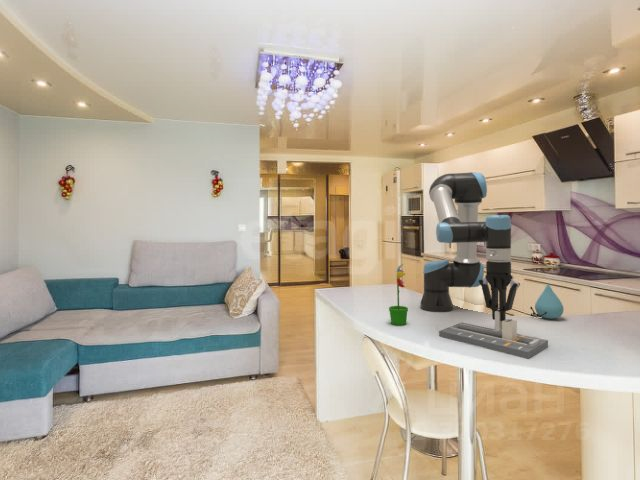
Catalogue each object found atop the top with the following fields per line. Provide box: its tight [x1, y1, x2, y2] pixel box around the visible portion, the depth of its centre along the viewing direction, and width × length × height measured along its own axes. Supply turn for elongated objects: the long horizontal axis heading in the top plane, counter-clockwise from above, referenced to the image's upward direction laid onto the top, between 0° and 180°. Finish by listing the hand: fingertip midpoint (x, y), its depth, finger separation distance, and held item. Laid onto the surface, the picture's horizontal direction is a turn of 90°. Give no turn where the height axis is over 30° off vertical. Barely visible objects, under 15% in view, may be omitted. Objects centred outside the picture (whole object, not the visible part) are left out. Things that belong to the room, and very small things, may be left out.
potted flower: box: [388, 263, 409, 326], centre depth 146 cm, size 9×8×25 cm
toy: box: [530, 283, 564, 320], centre depth 149 cm, size 15×12×15 cm
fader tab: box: [501, 318, 518, 341], centre depth 117 cm, size 4×3×6 cm
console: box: [438, 322, 549, 360], centre depth 122 cm, size 16×30×3 cm, turn 39°
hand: (498, 329), depth 119 cm, fingers closed
